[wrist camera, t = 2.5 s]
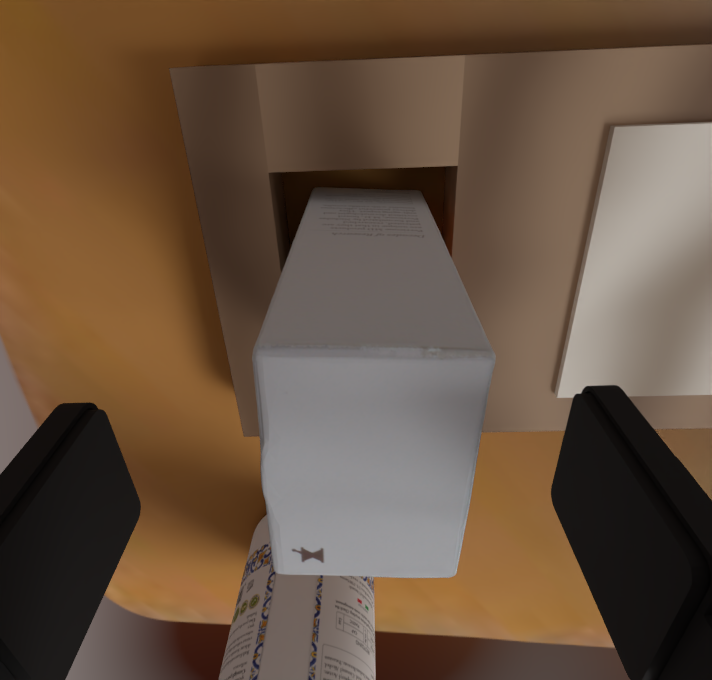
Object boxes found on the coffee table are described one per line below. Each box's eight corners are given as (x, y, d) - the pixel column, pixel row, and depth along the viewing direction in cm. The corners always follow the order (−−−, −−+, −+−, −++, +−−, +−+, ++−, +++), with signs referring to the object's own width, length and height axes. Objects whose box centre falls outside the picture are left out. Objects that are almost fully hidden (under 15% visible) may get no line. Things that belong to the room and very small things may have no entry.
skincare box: (413, 326, 21) (458, 587, 11) (314, 324, 21) (266, 581, 11) (425, 183, 18) (506, 355, 8) (310, 180, 18) (238, 348, 8)
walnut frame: (943, 33, 15) (1050, 29, 13) (769, 390, 23) (818, 431, 20) (195, 66, 16) (165, 68, 14) (255, 401, 23) (242, 441, 21)
